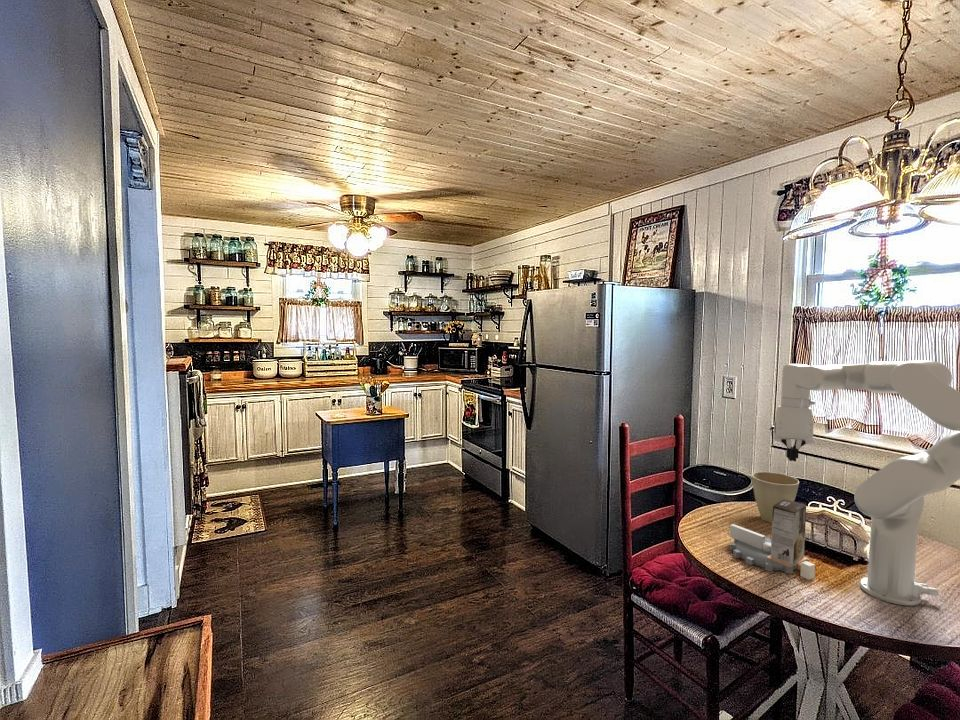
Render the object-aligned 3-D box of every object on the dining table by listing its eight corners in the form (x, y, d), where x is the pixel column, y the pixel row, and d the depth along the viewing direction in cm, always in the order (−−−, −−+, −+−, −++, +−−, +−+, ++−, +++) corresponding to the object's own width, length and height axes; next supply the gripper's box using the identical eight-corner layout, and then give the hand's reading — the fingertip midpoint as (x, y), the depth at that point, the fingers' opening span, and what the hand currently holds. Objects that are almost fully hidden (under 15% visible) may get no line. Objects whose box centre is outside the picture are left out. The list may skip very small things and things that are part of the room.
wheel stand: (802, 557, 151) (803, 544, 151) (815, 581, 137) (816, 567, 137) (747, 548, 157) (748, 536, 157) (754, 570, 143) (755, 557, 143)
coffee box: (780, 549, 151) (783, 498, 150) (804, 556, 146) (807, 504, 145) (769, 557, 145) (771, 505, 144) (793, 566, 140) (796, 511, 139)
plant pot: (747, 521, 178) (749, 479, 177) (752, 509, 191) (754, 469, 189) (796, 531, 170) (798, 487, 169) (797, 518, 182) (800, 476, 181)
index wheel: (749, 534, 166) (750, 518, 166) (822, 561, 147) (823, 543, 146) (711, 548, 155) (712, 531, 155) (785, 580, 136) (786, 560, 136)
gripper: (819, 402, 154) (816, 459, 156) (765, 399, 160) (763, 454, 161) (826, 406, 147) (823, 466, 149) (769, 403, 153) (767, 460, 154)
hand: (792, 460), depth 155 cm, fingers closed
